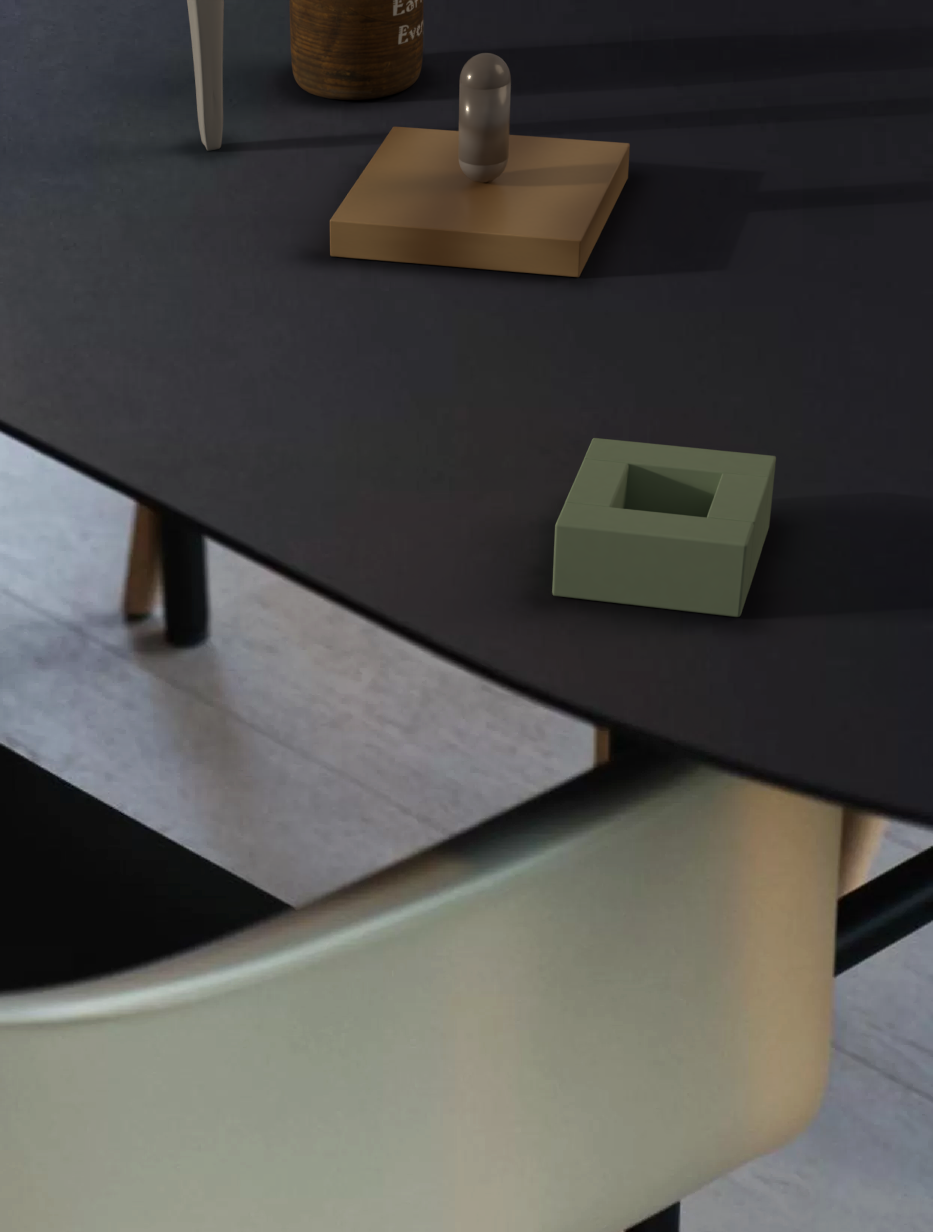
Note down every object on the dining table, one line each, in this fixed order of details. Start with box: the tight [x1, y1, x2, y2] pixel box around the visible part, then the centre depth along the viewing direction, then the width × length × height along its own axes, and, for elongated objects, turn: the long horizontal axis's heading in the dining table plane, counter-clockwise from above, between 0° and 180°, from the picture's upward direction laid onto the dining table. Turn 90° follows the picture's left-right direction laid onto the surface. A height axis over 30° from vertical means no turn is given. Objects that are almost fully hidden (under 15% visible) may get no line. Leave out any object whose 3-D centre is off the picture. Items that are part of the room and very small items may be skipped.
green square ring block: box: [551, 437, 777, 618], centre depth 87 cm, size 6×6×3 cm
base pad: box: [329, 52, 631, 278], centre depth 107 cm, size 10×10×6 cm
